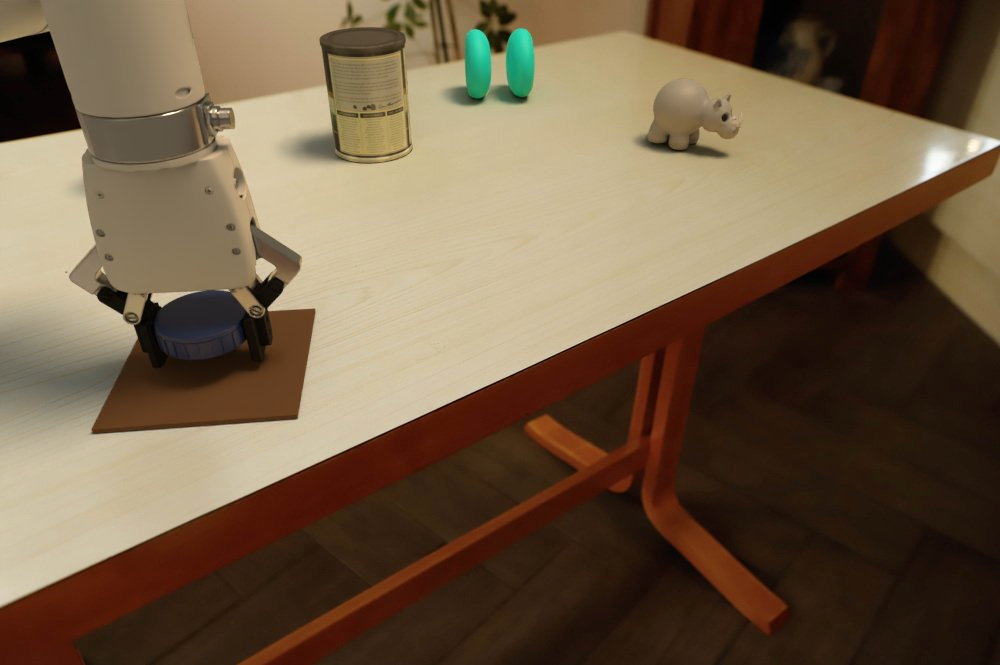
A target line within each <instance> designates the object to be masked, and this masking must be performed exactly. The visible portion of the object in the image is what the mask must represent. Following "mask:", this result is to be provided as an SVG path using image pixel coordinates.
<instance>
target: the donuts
mask: <svg viewBox="0 0 1000 665" xmlns="http://www.w3.org/2000/svg"><path fill="white" fill-rule="evenodd" d="M534 47H535V46H534V41H533V36H532V34H531V32H529V31H528V30H527V29H526V28H522V27H521V28H517V29H515V30H513V31H512V33H511V34H510V36H509V38H508V39H507V42H506V50H505V71H506V72H505V73H506V81H507V85H508V88H509V89H510V91H511V92H512V94H513V95H514V96H516V97H518V98H526V97H527V96H529V95H530V93H531V92H532V89H533V86H534V81H535V48H534ZM491 53H492V52H491V46H490V41H489V40H488V37H487V36H486V34H485V33H484V32H483V31H482V30H480V29H477V28H473V29H470V30H469V31H468V32H467V33H466V35H465V38H464V74H465V85H466V90H467V93H468V95H469V96H470V97H471V98H473V99H481V98H483V97H484V96H486V95H487V93H488V91H489V89H490V87H491V82H492V54H491Z"/></svg>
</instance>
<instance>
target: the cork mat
mask: <svg viewBox="0 0 1000 665" xmlns="http://www.w3.org/2000/svg"><path fill="white" fill-rule="evenodd" d="M316 312H317V310H316V308H299V309H281V310H279V309H278V310H268V313H269V318H270V322H271V327H272V332H273V340H272V344H271V345H268V346H266V348H265V352H264V356H263V360H262V361H261V362H254V360H252V359H251V355H250V351H249V347H248V343H247V340H246V341H245V342H244V343H243V344H241V345H240V346H239V347H237V348H236V349H234V350H232V351H230V352H228V353H226V354H223V355H220V356H217V357H213V358H209V359H203V360H182V359H177V358H174V357H171V356H169V355H168V358H167V360H166V362H165V364H164V366H162V367H161V368H153V367H152V364H151V361H150V358H149V355H148V353H144V352H143V351H142V349H141V346H140V343H139V340H138V338H136V341H135V343H134V345H133V346H132V348H131V350H130V353H129V355H128V357H127V359H126V361H125V362H124V364H123V366H122V369H121V370H120V372H119V374H118V376H117V378H116V380H115V382H114V384H113V386H112V388H111V390H110V392H109V394H108V395H107V398H106V400H105V401H104V404H103V405H102V406H101V409H100V412H99V413H98V415H97V417H96V418H95V421H94V423H93V425H92V427H91V429H90V430H91V432H92V434H101V433H102V434H103V433H105V434H106V433H116V432H117V433H118V432H131V431H132V432H133V431H145V430H158V429H159V430H160V429H171V428H173V429H174V428H184V427H200V426H213V425H215V426H216V425H226V424H227V425H229V424H240V423H241V424H242V423H254V422H256V423H257V422H268V421H270V422H271V421H280V420H282V421H283V420H295V419H298V418H299V413H300V406H301V401H302V395H303V389H304V383H305V378H306V371H307V366H308V360H309V354H310V347H311V341H312V335H313V330H314V324H315V318H316Z"/></svg>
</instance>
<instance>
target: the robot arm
mask: <svg viewBox="0 0 1000 665" xmlns="http://www.w3.org/2000/svg"><path fill="white" fill-rule="evenodd" d="M48 32H49V33H50V36H51V39H52V41H53V45H54V48H55V51H56V54H57V57H58V61H59V64H60V66H61V69H62V73H63V76H64V80H65V83H66V85H67V88H68V90H69V93H70V97H71V100H72V103H73V106H74V109H75V112H76V115H77V119H78V122H79V125H80V127H81V131H82V134H83V137H84V139H85V142H86V143H85V144H86V146H87V148H86V150H85V151H84V153H83V154H82V156H81V168H82V178H83V179H82V180H83V187H84V188H83V189H84V195H85V196H84V197H85V202H86V207H87V213H88V218H89V222H90V227H91V232H92V235H93V239H94V243H95V244H94V245H93V246H91V248H90V249H89V250H88V251H87V253H86V254H85V255H84V256H83V257H82V258H81V259H80V261H78V262H77V264H76V265H75V266H74V267H73V269H72V271H71V272H69V275H68V278H69V280H70V281H71V283H73V284H74V285H75V286H77V287H79V288H81V289H83V290H84V291H86V292H87V293H89V294H90V295H92V296H93V295H94V296H96V298H97V300H98V301H99V302H100V303H101V304H102V305H104V306H107V307H108V308H110V309H111V310H112V311H115V312H116V313H118V314H120V315H121V316H122V319H123V321H124V322H125V323H126V324H128V325H131V326H133V328H134V331H135V334H136V337H137V339H138V340H139V343H140V346H141V349H142V351H143V352H144V353H148V355H149V358H150V361H151V364H152V367H153V368H161V367H162V366H164V364H165V362H166V360H167V358H168V355H167V354H166V353H165V352H164V351H163V350H161V348H160V345H159V344H158V341H157V338H156V335H155V332H154V330H155V328H154V325H153V321H154V318H155V316H156V314H157V312H158V311H159V310H160V309H161V308H162V307H163V306H161V305H159V302H154V301H153V300H152V298H153V294H166V293H167V294H169V293H188V292H200V291H208V290H222V291H225V290H227V291H229V292H231V294H232V295H233V296H234V297H235V298H236V300H237V301H238V302H239V303H240V304H241V305H242V307H243V308H244V309H245V314H244V318H243V326H244V330H245V334H246V339H247V343H248V347H249V351H250V355H251V359H252V360H254V362H261V361H262V360H263V356H264V352H265V348H266V346H268V345H271V344H272V340H273V332H272V327H271V322H270V318H269V313H268V311H269V307H270V306H271V305H272V304H273V303H274V302H275V301H276V300H277V299H278V298H279V297H280V296H281V295H282V294H283V293H284V289H285V288H286V287H287V286H288V285H289V284H290V283H291V282H292V281H293V280H294V278H295V277H296V276H297V275H298V274H299V273H300V271H301V269H302V264H303V256H301V254H299V253H297V252H296V251H294V250H293V249H291V248H290V247H288V246H286V245H285V244H284V243H282V242H280V241H279V240H277V239H276V238H274V237H273V236H271V235H270V234H268V233H266V232H265V231H263V230H262V229H261V226H260V222H259V218H258V215H257V211H256V208H255V204H254V201H253V198H252V195H251V191H250V189H249V185H248V183H247V180H246V177H245V174H244V171H243V168H242V165H241V162H240V160H239V158H238V155H237V153H236V150H235V149H234V146H233V145H232V143H231V140H230V138H229V137H226V136H225V135H218V133H220V132H224V130H235V128H236V118H235V117H236V116H235V112H234V110H233V108H232V107H221V106H220V105H215V104H214V101H212V100H211V95H210V93H209V92H206V88H205V83H204V79H203V75H202V70H201V66H200V62H199V56H198V52H197V47H196V43H195V39H194V34H193V30H192V25H191V21H190V16H189V12H188V7H187V3H186V0H0V44H1V43H4V42H8V41H12V40H17V39H20V38H23V37H28V36H34V35H40V34H43V33H48ZM259 259H263V260H264V261H266V262H268V263H270V264H271V265H273V266H274V267H275V269H274V270H273V271H271V272H270V273H268V275H267V276H266V277H265V279H264V280H263V279H261V277H260V276H259V275H258V273H257V269H256V268H257V267H256V266H257V261H258V260H259ZM102 269H103V271H104V272H103V271H102Z"/></svg>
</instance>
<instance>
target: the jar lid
mask: <svg viewBox="0 0 1000 665" xmlns="http://www.w3.org/2000/svg"><path fill="white" fill-rule="evenodd" d="M161 307H162V308H161V309H160V310H159V311H158V312H157V314H156V316H155V318H154V321H153V325H154V328H155V330H154V332H155V335H156V338H157V341H158V344H159V345H160V348H161V350H163V351H164V352H165V353H166V354H167V355H169V356H171V357H174V358H177V359H182V360H203V359H209V358H213V357H217V356H220V355H223V354H226V353H228V352H230V351H232V350H234V349H236V348H237V347H239V346H240V345H241V344H243V343H244V342H245V341H246V340H247V339H246V334H245V330H244V326H243V318H244V314H245V309H244V308H243V307H242V305H241V304H240V303H239V302H238V301H237V300H236V298H235V297H234V296H233V295H232V294H231V292H230V291H229V290H208V291H194V292H191V293H187V294H184V295H182V296H179V297H177V298H174V299H172V300H171V301H169V302H167V303H166V304H164V305H163V306H161Z"/></svg>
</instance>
